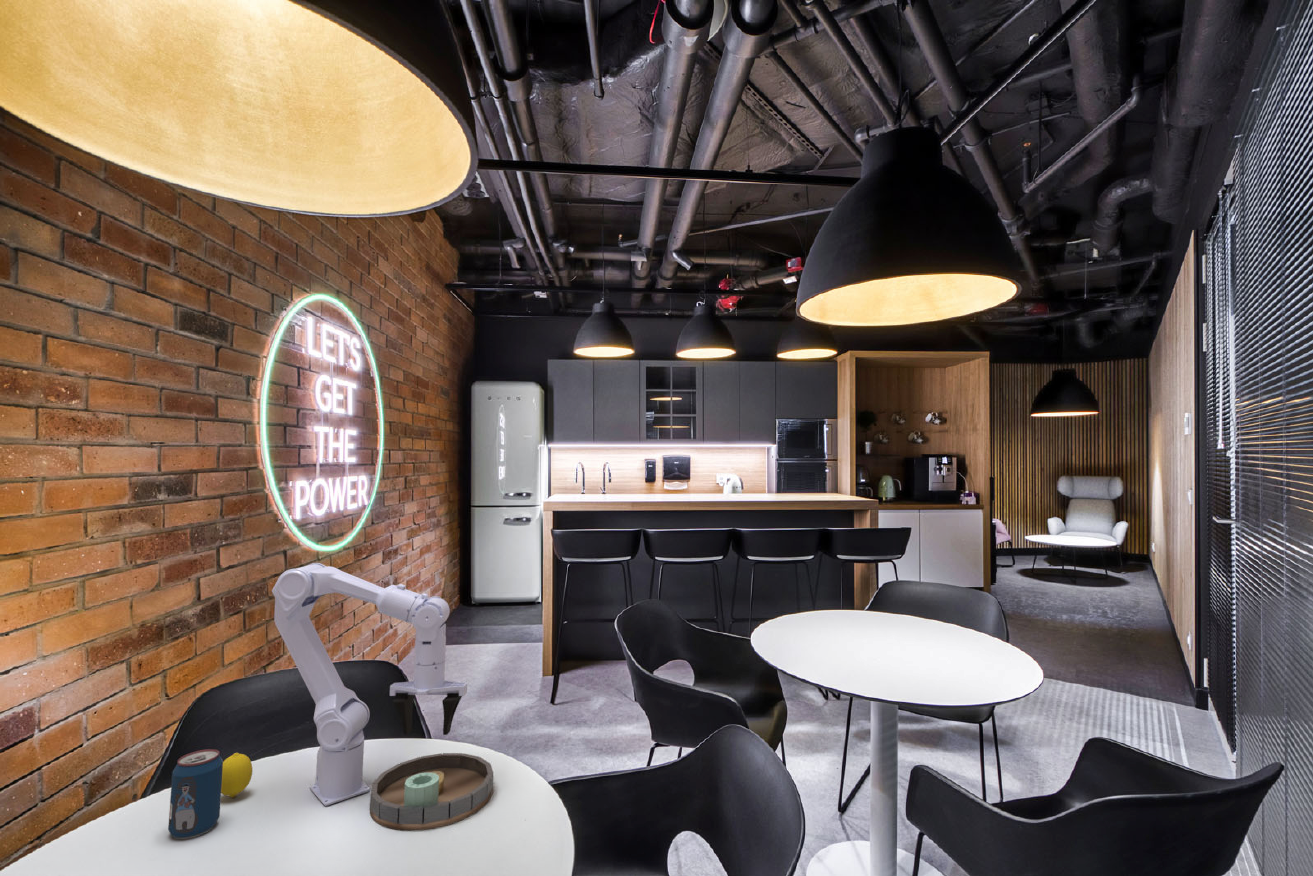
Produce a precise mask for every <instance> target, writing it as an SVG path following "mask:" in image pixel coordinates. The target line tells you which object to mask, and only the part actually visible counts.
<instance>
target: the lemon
mask: <svg viewBox="0 0 1313 876" xmlns="http://www.w3.org/2000/svg"><path fill="white" fill-rule="evenodd" d="M252 775H253V765H252V761H251V759H250V758H249V756H247V755H246V754H243V753H239V752H235V753H233V754H232V755H230V756H229V757H227V758H225V759H224V761H223V769H222V785H221V795H223V796H228V797H230V798H232V799H233V798H235V797H237V796H238V794H240V793H242V792H243V791H244V790H245V789H246V788H247V787H248V785H249V784H250V782H251V779H252Z"/></svg>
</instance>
